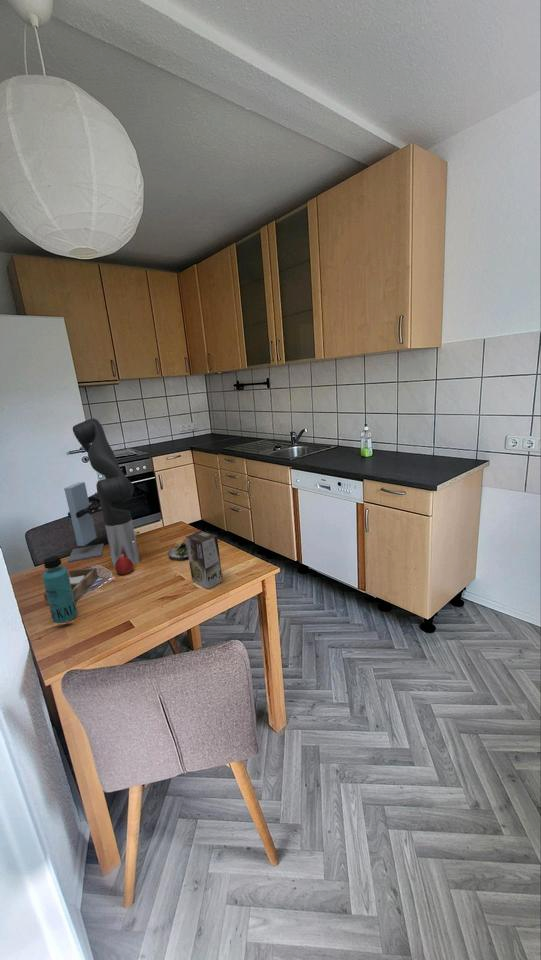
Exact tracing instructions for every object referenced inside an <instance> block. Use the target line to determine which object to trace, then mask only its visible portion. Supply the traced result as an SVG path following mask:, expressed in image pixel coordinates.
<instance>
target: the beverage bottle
mask: <svg viewBox="0 0 541 960" xmlns="http://www.w3.org/2000/svg"><path fill="white" fill-rule="evenodd" d="M43 565H44V566H43V567H44V569H46V570H45V572H44V573H43V574H42V576H41V577H42V580H43V585H44V590H45V593H46V594H47V598H48V602H49V605H48V607H49V611H50V613H51V618H52V621H53V622H54V623H55V624H65V623H67V622H70V621H72V620H74V619H75V617H77V615H78V609H77V604H76V603H77V602H75V600H74V596H73V592H72V588H71V584H70V579H69V578H70V574H69V570H68V569H67V568H66V567H65V566H62V560H61V558H60V556H59V555H54V556H53V555H52V556H48V557H46V558H45V559H44V560H43Z"/></svg>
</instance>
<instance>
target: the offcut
mask: <svg viewBox="0 0 541 960" xmlns="http://www.w3.org/2000/svg"><path fill="white" fill-rule="evenodd" d="M84 577H85V575H83V576H78V577H73V578H71V577H69V579H70V584H71V583H79V582H80V581H81V580H82V579H83V578H84Z"/></svg>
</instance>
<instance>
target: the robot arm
mask: <svg viewBox="0 0 541 960" xmlns="http://www.w3.org/2000/svg"><path fill="white" fill-rule="evenodd" d="M72 433H73V434H74V437H75V438H76V440H77V441H78V443H79V444H80V445H81V447H82V448H83V450H84V451H85V452H86V453H87V458H88V460H89V463H90V466H91V468H92V469H93V470H94V471H95V472H96V473H99V474H101V476H102V475H103V476H104V477H105V479H99V480H98V481H97V482H96V485H95V486H96V492H95V493H94V494H92V495H90V496H88V500H89V505H87V506H86V507H85V508H84V509H83V510H80V511H79V512H77V513H76V517H77V518H80V517H82V516H83V515H87V514H90V515H91V514H92V515H93V514H98V513H100V512H102V517H103V523H104V528H105V532H106V537H107V541H108V546H109V552H110V556H111V560H112V561H111V562H112V566H113V567H114V568H115V564H116V561H117V560H118V559H119V558H120V557H121V555H123V554H124V556H125V557H128V558H129V559H131V561H132V563H133V565H134V564H138V563H140V553H139V548H138V543H137V536H136V534H135V529H134V523H133V518H132V513H131V511H130V510H126V509H120V508H115V507H112V505H116V504H120V503H125V502H127V501H130V499H131V498H132V495H133V494H134V492H135V487H134V484H133V482H132V481H131V480H130V479H129V478H127V476H126V475H125V473H124V472H123V471H122V469H121V467H120V465H119V462H118V459H117V458H116V456H115V453H114V451H113V449H112V447H111V446H110V444H109V442H108V439H107V437H106V436H107V435H106V433H105V431H104V427H103V426H102V424H101V423H100V421H99V420H97V419H96V418H89V419H86V420H84V421H82V422H80V423H77V424H75V425H74V426H72ZM67 517H68V519H71V515H70V511H68V512H67Z"/></svg>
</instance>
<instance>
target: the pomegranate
mask: <svg viewBox="0 0 541 960" xmlns="http://www.w3.org/2000/svg"><path fill="white" fill-rule="evenodd" d="M133 568H134V564H133V563H132V561H131V559H129V558H128V557H125V556H124V554H123V555H121V557H120V558H119V559H118V560H117V561H116V564H115V567H114V569H115V572H116V573H117V574H119V575H122V576H123V575H125V576H126V575H127V574H130V573H132V570H133Z"/></svg>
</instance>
